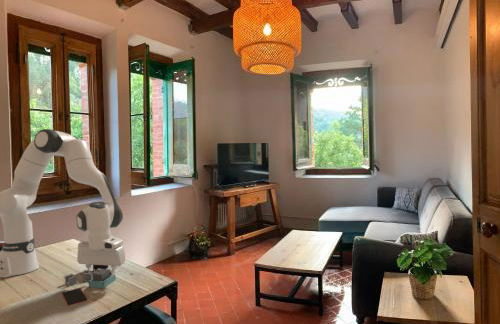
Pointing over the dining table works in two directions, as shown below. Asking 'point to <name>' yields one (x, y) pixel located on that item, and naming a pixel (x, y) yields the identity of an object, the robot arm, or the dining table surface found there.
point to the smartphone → (74, 296)
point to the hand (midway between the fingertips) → (102, 274)
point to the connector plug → (101, 275)
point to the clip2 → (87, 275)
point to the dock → (102, 282)
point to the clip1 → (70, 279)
